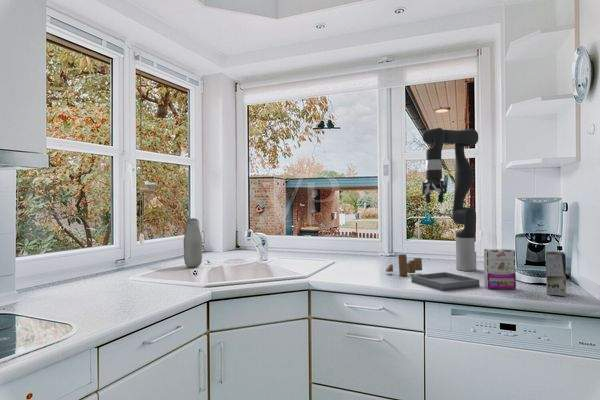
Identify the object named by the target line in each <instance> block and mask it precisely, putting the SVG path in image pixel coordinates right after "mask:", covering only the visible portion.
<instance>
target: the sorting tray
mask: <svg viewBox="0 0 600 400" xmlns="http://www.w3.org/2000/svg"><path fill="white" fill-rule="evenodd" d="M410 277H411V283H414V284H417V285H421V286H424V287H429V288H432V289H435V290H438V291H441V292H446V291H454V290H455V291H456V290H464V289H470V288H471V289H472V288H479V287H480V279H478V278H474V277H469V276H464V275H460V274H456V273H452V272H446V271H443V272H440V271H439V272H432V273H421V274H412V275H411V276H410Z"/></svg>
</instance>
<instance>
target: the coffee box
mask: <svg viewBox="0 0 600 400" xmlns="http://www.w3.org/2000/svg"><path fill="white" fill-rule="evenodd" d="M566 255H567V254H565V252H564V251H545V270H546V271H545V281H546V283H545V284H546V294H547V295H552V296H562V297H565V296H566V295H567V267H566V266H567V261H566V260H567V259H566V257H567V256H566Z"/></svg>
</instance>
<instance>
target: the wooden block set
mask: <svg viewBox="0 0 600 400" xmlns="http://www.w3.org/2000/svg"><path fill="white" fill-rule="evenodd" d="M407 258H408V257H407V254H406V253H399V254H398V258H397V259H398V270H399V271H398V272H399V276H401V277H402V276H403V277H406V276H408V274H416V271H417V272H421V271H423V261H422V258H421V257H414V258H413V260H407ZM385 272H387V273H389V272H390V273H391V272H394V265H393V264H392V263H391V264H389V265H388V267H387V268H386V269H385Z"/></svg>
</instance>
